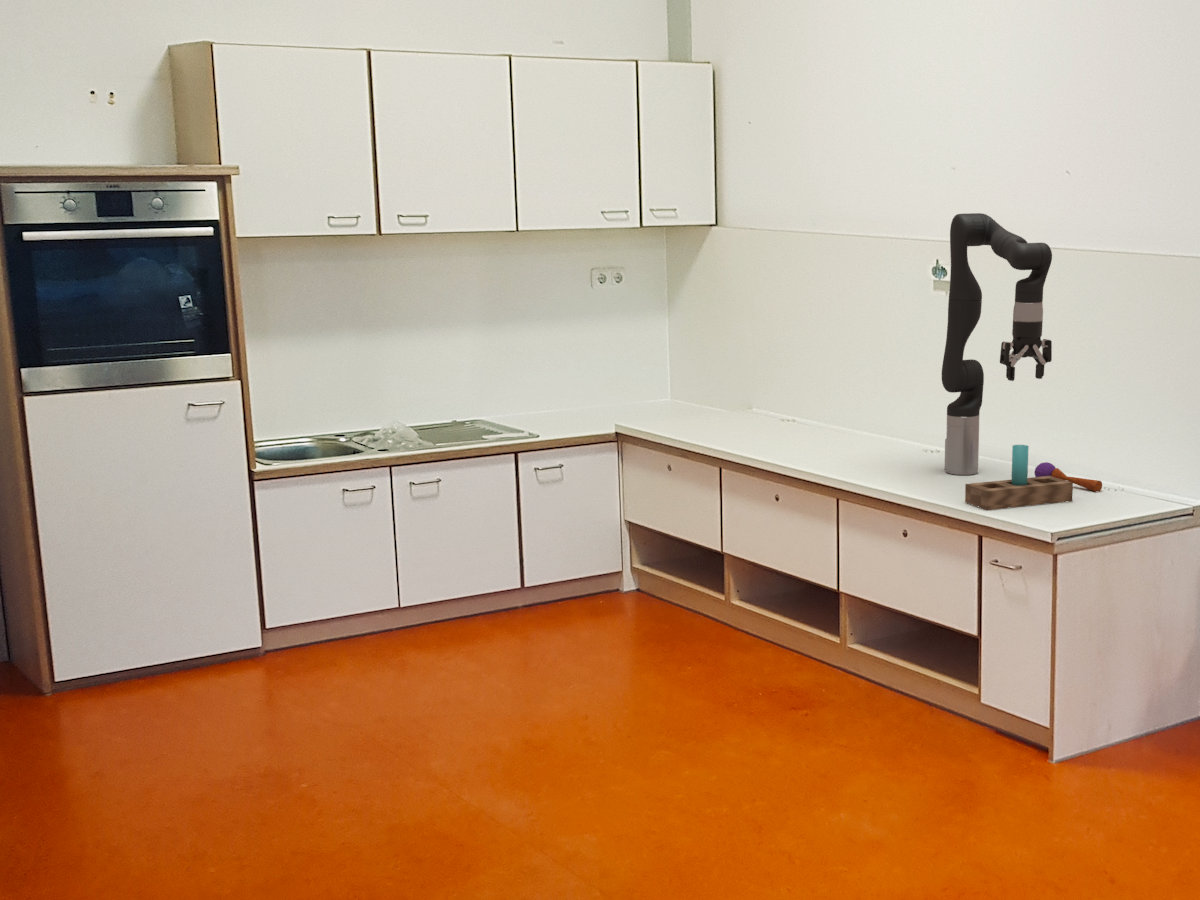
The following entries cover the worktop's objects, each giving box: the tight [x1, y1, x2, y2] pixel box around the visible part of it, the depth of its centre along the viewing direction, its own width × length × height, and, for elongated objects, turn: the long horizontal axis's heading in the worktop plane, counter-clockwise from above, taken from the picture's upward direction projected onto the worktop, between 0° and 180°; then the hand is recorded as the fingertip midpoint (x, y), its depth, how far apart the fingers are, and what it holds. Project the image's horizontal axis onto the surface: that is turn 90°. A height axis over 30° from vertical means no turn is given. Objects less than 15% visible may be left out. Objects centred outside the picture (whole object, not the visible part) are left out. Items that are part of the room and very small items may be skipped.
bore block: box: [964, 476, 1074, 511], centre depth 354 cm, size 26×10×5 cm, turn 107°
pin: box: [1011, 444, 1029, 486], centre depth 353 cm, size 4×4×14 cm
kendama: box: [1034, 461, 1103, 493], centre depth 371 cm, size 6×6×20 cm
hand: (1024, 379), depth 358 cm, fingers open, 8 cm apart
